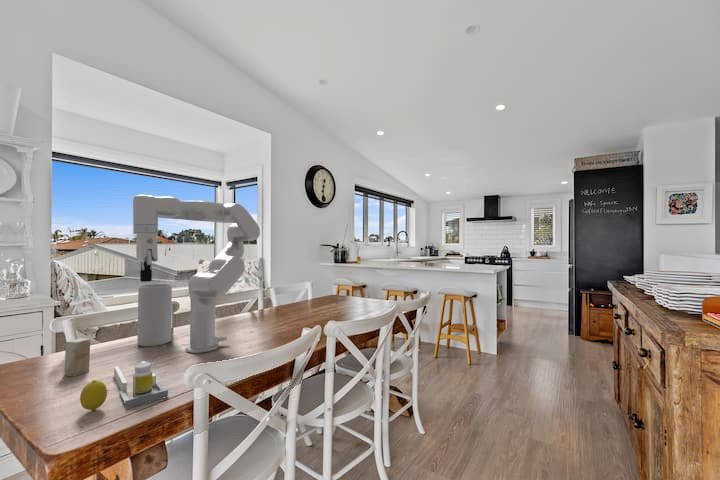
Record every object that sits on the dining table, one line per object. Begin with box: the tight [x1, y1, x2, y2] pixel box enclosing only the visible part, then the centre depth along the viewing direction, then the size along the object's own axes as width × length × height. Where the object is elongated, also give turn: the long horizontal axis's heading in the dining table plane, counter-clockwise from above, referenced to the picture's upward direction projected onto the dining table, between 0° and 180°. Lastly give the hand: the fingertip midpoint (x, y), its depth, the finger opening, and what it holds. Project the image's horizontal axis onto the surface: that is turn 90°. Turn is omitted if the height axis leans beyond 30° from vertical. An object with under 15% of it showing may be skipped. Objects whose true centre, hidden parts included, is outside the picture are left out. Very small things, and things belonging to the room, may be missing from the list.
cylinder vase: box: [136, 283, 173, 347], centre depth 147 cm, size 12×12×25 cm
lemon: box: [79, 379, 108, 412], centre depth 88 cm, size 6×6×8 cm
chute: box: [113, 360, 157, 394], centre depth 107 cm, size 8×17×3 cm, turn 43°
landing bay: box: [119, 381, 169, 409], centre depth 96 cm, size 10×10×2 cm
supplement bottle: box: [132, 362, 153, 397], centre depth 98 cm, size 5×5×8 cm
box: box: [63, 337, 91, 377], centre depth 112 cm, size 5×4×11 cm
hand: (146, 281), depth 120 cm, fingers closed
